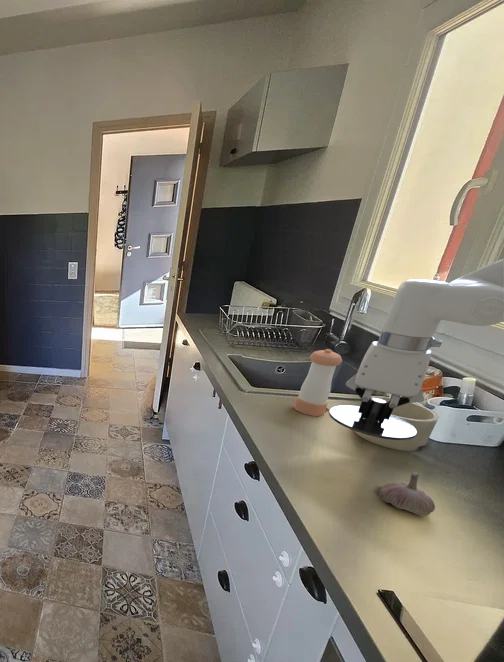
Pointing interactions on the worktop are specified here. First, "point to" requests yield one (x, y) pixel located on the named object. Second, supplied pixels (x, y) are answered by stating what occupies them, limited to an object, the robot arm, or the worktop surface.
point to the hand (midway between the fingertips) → (371, 418)
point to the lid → (373, 421)
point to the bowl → (416, 417)
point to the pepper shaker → (317, 383)
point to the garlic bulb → (408, 497)
